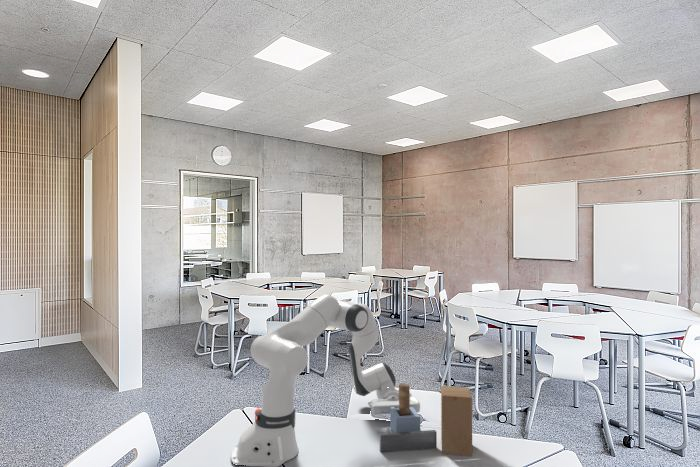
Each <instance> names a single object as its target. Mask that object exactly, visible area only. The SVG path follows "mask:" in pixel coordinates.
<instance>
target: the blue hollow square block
mask: <svg viewBox="0 0 700 467" xmlns="http://www.w3.org/2000/svg"><path fill="white" fill-rule="evenodd" d="M389 416H390V423H389V424H390V427H389V428H390V430H391V432H392V433H397V432H412V431H420V430H421V416H420V415H419V412H416V410H415V409H414V408H413V407H410V415H408V416H399V408H390V414H389Z"/></svg>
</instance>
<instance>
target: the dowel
mask: <svg viewBox="0 0 700 467" xmlns="http://www.w3.org/2000/svg"><path fill="white" fill-rule="evenodd" d="M410 390H411V389H410V384H409V383H399V384H398V391H399V416H408V415H410V393H411V392H410Z"/></svg>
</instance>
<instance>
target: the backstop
mask: <svg viewBox="0 0 700 467" xmlns="http://www.w3.org/2000/svg"><path fill="white" fill-rule="evenodd" d="M385 430H386V432H383V433H379V452H380V453H382V454H383V453H392V452H407V451H409V452H410V451H419V450H420V451H421V450H422V451H423V450H434V449H437V446H438V445H437V443H438V442H437V439H438V438H437V437H438V436H437V432H438V431H436V430H435V429H431V430H430V429H428V430H421V429H420V431H412V432H397V433H392V431H391V429H390V427H387V428H386V429H385Z"/></svg>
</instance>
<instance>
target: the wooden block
mask: <svg viewBox="0 0 700 467" xmlns="http://www.w3.org/2000/svg"><path fill="white" fill-rule="evenodd" d="M440 394H441V396H440V406H441V407H440V408H441V410H440V411H441V413H440V415H441V416H440V417H441V419H440V422H441V423H440V427H441V428H440V429H441V430H440V431H441V433H440V434H441V439H440V440H441V453H442V454H444V455H453V456H462V457H463V456H465V457H473V397H472V394H471V390H470V387H465V386H464V387H462V386H449V385H448V386H447V385H441V387H440Z"/></svg>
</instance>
